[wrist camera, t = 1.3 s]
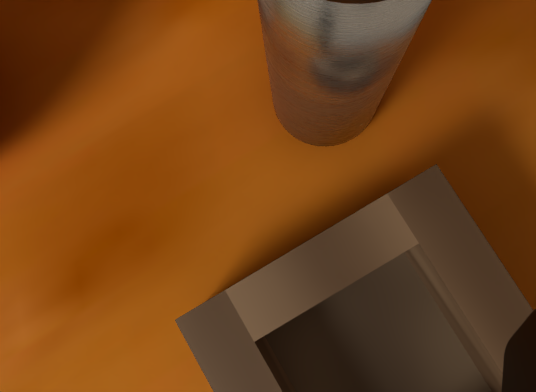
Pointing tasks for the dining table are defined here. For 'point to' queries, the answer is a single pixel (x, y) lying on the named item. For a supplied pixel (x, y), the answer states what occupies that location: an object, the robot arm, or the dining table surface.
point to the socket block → (368, 306)
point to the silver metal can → (334, 61)
